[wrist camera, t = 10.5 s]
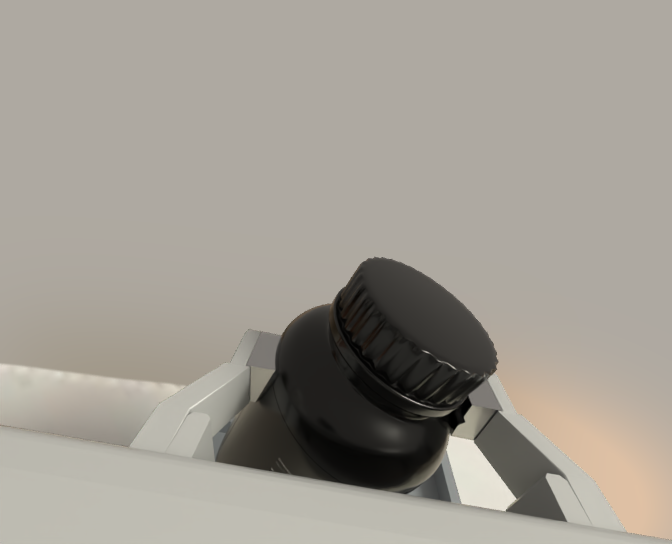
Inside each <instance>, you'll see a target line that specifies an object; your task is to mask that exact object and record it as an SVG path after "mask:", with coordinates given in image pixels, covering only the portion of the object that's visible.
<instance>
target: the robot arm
mask: <svg viewBox="0 0 672 544" xmlns="http://www.w3.org/2000/svg"><path fill="white" fill-rule="evenodd" d="M280 338H281V335H276V334H271V333H267V332H261V331H256V330H251V329H248V330H247V331H246V333H245V334H244V336H243V338H242V340H241V342H240V344H239V346H238V348H237V350H236V352H235V353H234V355H233V357H232V359H231V361H230V363H226V362H225V363H223V364H222V365H220V366H219V367H217V368H216V369H214V370H212V371H211V372H209V373H207V374H206V375H204V376H203V377H201V378H200V379H198V380H196V381H195V382H193V383H191V384H190V385H188V386H187V387H185V388H183V389H182V390H180V391H179V392H177V393H175V394H174V395H172V396H171V397H169V398H167V399H166V400H164V401H163V402H161V403H159V404H158V406H157V407H156V409H155V410H154V411H153V413H152V414H151V416H150V417H149V419H148V420H147V421H146V423H145V424H144V426H143V427H142V429H141V430H140V431H139V433H138V434H137V436H136V437H135V439H134V440H133V442H132V443H131V444H130V446H129V447H126V446H120V445H115V444H109V443H103V442H97V441H91V440H85V439H80V438H74V437H68V436H62V435H56V434H50V433H45V432H39V431H33V430H27V429H21V428H15V427H10V426H4V425H0V544H672V540H669V539H662V538H656V537H651V536H645V535H639V534H634V533H628V532H627V531H626V530H625V528H624V527H623V525H622V523H621V522H620V520H619V519H618V517H617V516H616V514H615V512H614V511H613V509H612V508H611V506H610V504H609V503H608V501H607V500H606V498H605V497H604V495H603V493H602V492H601V490H600V489H599V487H598V486H597V484H596V482H595V481H594V480H593V479H592V478H591V477H590V476H589V475H588V474H587V473H586V472H584V471H583V470H582V469H581V468H580V467H579V466H577V464H575V463H574V462H573V461H572V460H571V459H570V458H569V457H568V456H567V455H566V454H564V453H563V452H562V451H561V450H560V449H559V448H558V447H557V446H556V445H554V444H553V443H552V442H551V441H550V440H549V439H548V438H547V437H545V436H544V435H543V434H542V433H541V432H540V431H539V430H538V429H537V428H536V427H534V426H533V425H532V424H531V423H530V422H529V421H528V420H527V419H525V418H524V417H523V416H522V415H519V414H517V412H516V410H515V408H514V407H513V405H512V403H511V401H510V399H509V397H508V395H507V393H506V391H505V389H504V387H503V386H502V384H501V382H500V380H499V378H498V376H497V375H496V374H493V375H492V376H490V377H489V378H488V379H487V380H486V381H485V382H484V383H483V384H482V385H480V386H479V387H478V388H477V389H475V390H474V391H473V392H472V393H470V394H469V395H468V396H467V398H466V399H465V401H464V402H463V403H462V404H461V405H460V406H459V407H457V408H456V409H455V410H454V411H452V412H451V413H450V434H451V436H454V437H459V438H464V439H469V440H474V443H475V444H476V445H477V447H478V448H479V449H480V451H481V452H482V453H483V455H484V456H485V457H486V459H487V460H488V461H489V463H490V464H491V465H492V467H493V468H494V469H495V471H496V472H497V473H498V475H499V476H500V477H501V479H502V480H503V481H504V483H505V484H506V485H507V487H508V488H509V489H510V491H511V492H512V493H513V495H514V496H515V497H516V500H515V501H514V502H513V503H512V504H511V505H509V506H508V508H507V509H506V512H505V511H500V510H494V509H488V508H482V507H476V506H470V505H465V504H459V503H453V502H447V501H441V500H435V499H430V498H424V497H418V496H412V495H406V494H401V493H395V492H389V491H383V490H377V489H371V488H366V487H360V486H354V485H348V484H342V483H336V482H330V481H324V480H319V479H313V478H307V477H301V476H295V475H289V474H283V473H278V472H272V471H266V470H260V469H254V468H248V467H242V466H237V465H231V464H225V463H219V462H215V457H214V448H213V439H212V437H213V436H214V435H216V434H217V433H218V432H219V431H220V430H221V429H222V428H223V427H224V426H225V425H226V424H227V423H228V422H229V421H230V420H232V419H233V418H234V417H235V416H236V415H237V414H238V413H239V412H240V411H241V410H242V409H243V408H244V407H245V406H246V405H248V404H249V401H252V402H256V400H257V399H258V397H259V395H260V394H261V392H262V391H263V389H264V387H265V386H266V384H267V383H268V381H269V379H270V378H271V376H272V375H273V373H274V372H275V355H276V350H277V346H278V343H279V340H280Z"/></svg>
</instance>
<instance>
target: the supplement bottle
mask: <svg viewBox="0 0 672 544" xmlns="http://www.w3.org/2000/svg"><path fill="white" fill-rule="evenodd" d="M496 355H497V352H496V350H495V348H494V344H493V342H492V341H491V339H490V338H489V336H488V333H487V332H486V331H485V330H484V328H483V327H482V325H481V323H480V322H479V321H478V320H477V319H476V318H475V317H474V315H473V314H472V313H471V312H470V311H469V310H468V309H467V308H466V307H465V306H464V305H463V304H462V303H461V302H460V301H459V300H457V299H456V298H455V297H454V296H453V295H452V294H451V293H450V292H448V291H447V290H446V289H445V288H444V287H442V286H441V285H439V284H438V283H436V282H435V281H434V280H432V279H431V278H429V277H427V276H426V275H424V274H423V273H422V272H419V271H417V270H415V269H414V268H412V267H410V266H407V265H405V264H403V263H401V262H397V261H395V260H392V259H386V258H383V257H382V258H377V257H374V258H373V259H371V258H368V259H367V260H366V261H364V262H362V263H361V264H360V266H359V267H358V268H357V270H356V271H355V273H354V274H353V276H352V277H351V279H350V281H349V282H348V284H347V285H346V287H344V288H343V289H341V290H340V291H339V293H338V294H337V296H336V297H335V299H334V301H333V303H332V304H325V305H321V306H317V307H314V308H312V309H309V310H307V311H305V312H304V313H302V314H300V315H299V316H298V317H297V318H295V319H294V320H293V321H292V322H291V323H290V324H289V325H288V327H287V328H286V329H285V331H284V332H283V334H282V335H281V338H280V340H279V343H278V346H277V350H276V355H275V372H274V373H273V375H272V376H271V378H270V379H269V381H268V383H267V384H266V386H265V387H264V389H263V391H262V392H261V394H260V395H259V397H258V399H257V400H256V402H252V401H249V404H248V405H246V406H245V407H244V408H243V409H242V410H241V411H240V412H239V413H238V414H237V415H236V416H235V417H234V419H233V421H232V423H231V424H230V426H229V428H228V430H227V432H226V434H225V436H224V438H223V440H222V442H221V444H220V447H219V449H218V453H217V456H216V459H215V462H219V463H225V464H231V465H237V466H242V467H248V468H254V469H260V470H266V471H272V472H278V473H283V474H289V475H295V476H301V477H307V478H313V479H319V480H324V481H330V482H336V483H342V484H348V485H354V486H360V487H366V488H371V489H377V490H383V491H389V492H395V493H401V494H406V495H407V494H409V493H410V492H412V491H413V490H415V489H416V488H417V487H419V486H420V485H421V484H422V483H424V482H425V481H426V480H428V479H429V478H430V477H431V476H432V475H433V474H434V473H435V471H436V470H437V468H438V467H439V465H440V464H441V462H442V460H443V457H444V455H445V452H446V449H447V445H448V441H449V435H450V413H451V412H452V411H454V410H455V409H456V408H457V407H459V406H460V405H461V404H462V403H463V402H464V401H465V399H466V398H467V396H468V395H469V394H470V393H472V392H473V391H474V390H475V389H477V388H478V387H479V386H480V385H482V384H483V383H484V382H485V381H486V380H487V379H488V378H489V377H490V376H492V375H493V374H494V372H495V371H496V370H497V368H496V365H497V364H498V360H497V357H496Z"/></svg>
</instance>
